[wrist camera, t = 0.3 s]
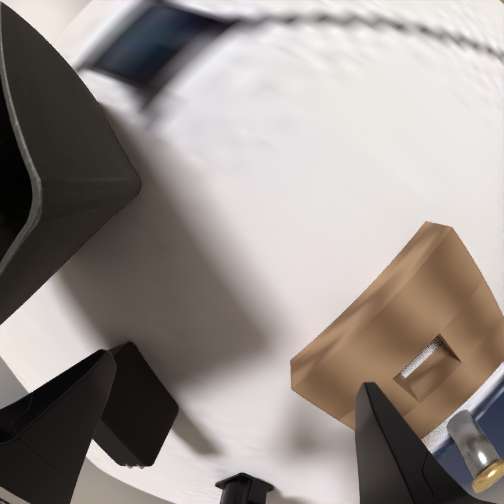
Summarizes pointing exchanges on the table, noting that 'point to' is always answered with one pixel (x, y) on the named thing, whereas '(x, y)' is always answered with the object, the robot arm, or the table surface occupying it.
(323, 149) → the table surface
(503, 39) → the table surface
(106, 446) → the electronic device
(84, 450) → the robot arm
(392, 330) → the socket block
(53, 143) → the flower pot
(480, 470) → the pin
